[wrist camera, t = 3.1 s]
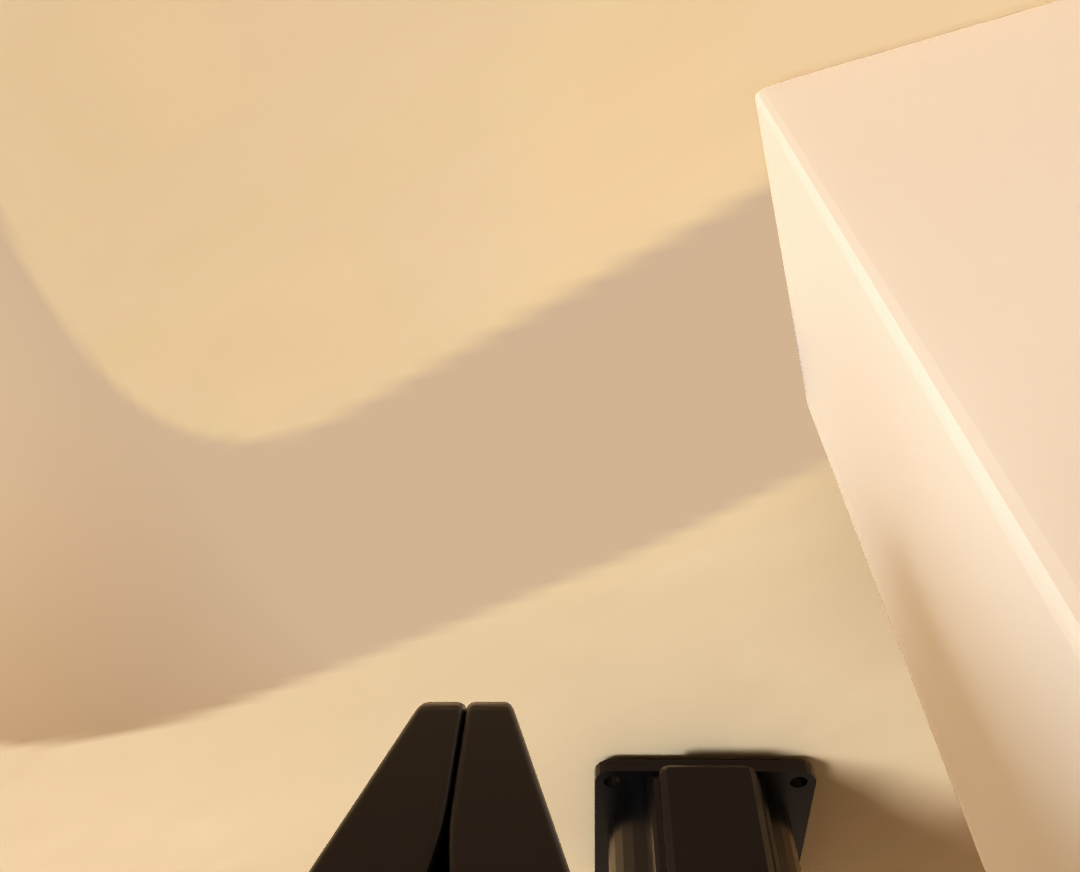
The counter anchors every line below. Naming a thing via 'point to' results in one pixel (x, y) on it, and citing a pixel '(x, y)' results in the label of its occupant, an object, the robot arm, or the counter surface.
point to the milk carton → (955, 384)
